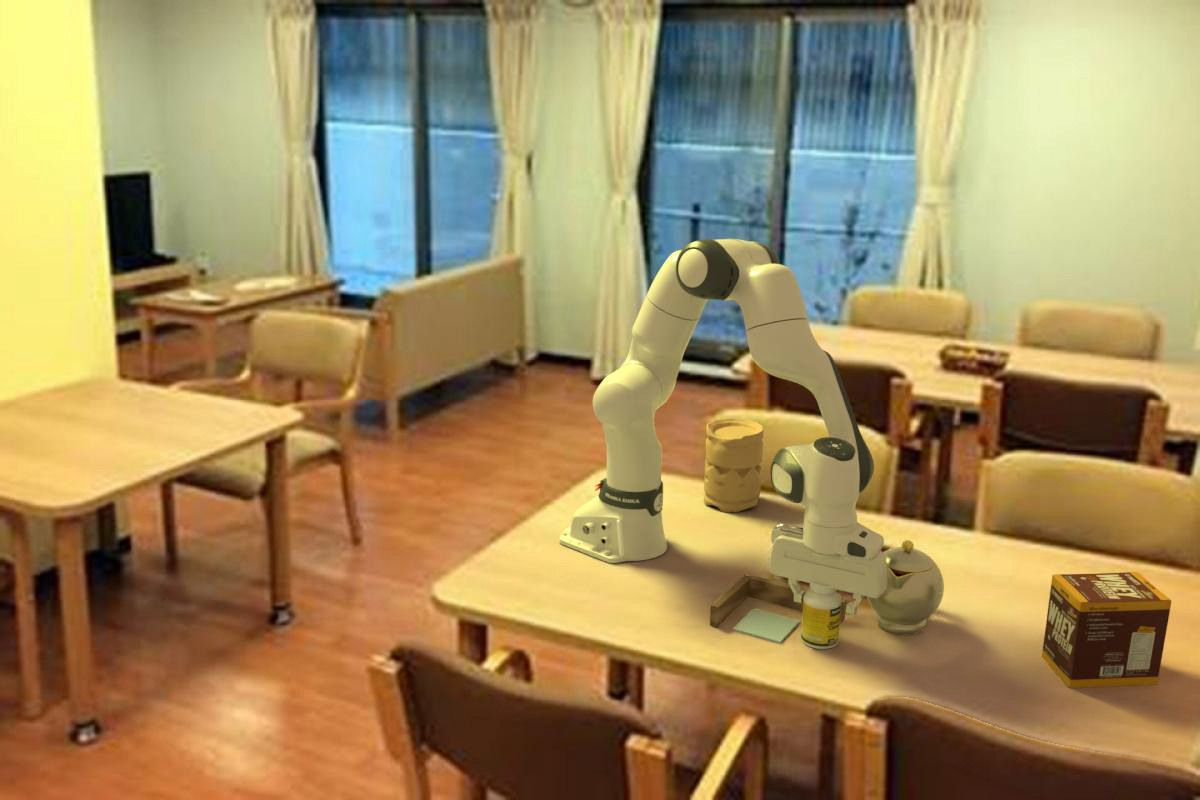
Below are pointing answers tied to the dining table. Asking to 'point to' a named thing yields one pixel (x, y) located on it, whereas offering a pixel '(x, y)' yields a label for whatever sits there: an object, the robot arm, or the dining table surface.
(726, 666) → the dining table surface
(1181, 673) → the dining table surface
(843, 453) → the robot arm
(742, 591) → the wooden l-shaped wall
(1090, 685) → the supplement box
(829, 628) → the pill bottle
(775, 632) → the pad
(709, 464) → the container
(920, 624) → the teapot
